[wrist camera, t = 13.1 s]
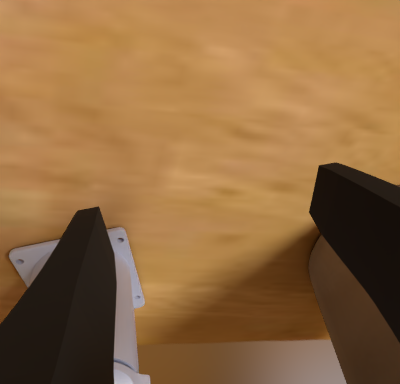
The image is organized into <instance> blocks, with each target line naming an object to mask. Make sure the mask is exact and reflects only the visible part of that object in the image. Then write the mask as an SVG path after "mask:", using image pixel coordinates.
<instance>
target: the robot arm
mask: <svg viewBox="0 0 400 384" xmlns="http://www.w3.org/2000/svg"><path fill="white" fill-rule="evenodd" d="M309 213H310V215H311V217H312V218H313V220H314V222H315V224H316V226H317V227H318V229H319V231H320V232H321V234H322V236H323V237H324V238H325V240H326V241H327V242H328V244H329V245H330V246H331V248H332V249H333V250H334V251H335V253H336V254H337V255H338V257H339V258H340V259H341V260H342V262H343V263H344V264H345V265H346V267H347V268H348V269H349V270H350V272H351V273H352V274H353V276H354V277H355V278H356V279H357V281H358V282H359V283H360V284H361V286H362V287H363V288H364V289H365V291H366V292H367V294H368V295H369V296H370V298H371V299H372V300H373V302H374V303H375V305H376V306H377V308H378V310H379V311H380V313H381V314H382V316H383V317H384V319H385V320H386V322H387V324H388V325H389V327H390V328H391V330H392V332H393V333H394V335H395V337H396V338H397V340H398V342H399V343H400V187H399V186H396V185H394V184H391V183H389V182H386V181H384V180H381V179H379V178H376V177H374V176H371V175H369V174H366V173H364V172H361V171H359V170H356V169H354V168H351V167H348V166H345V165H342V164H339V163H330V164H325V165H319V168H318V173H317V178H316V182H315V187H314V192H313V197H312V201H311V206H310V211H309ZM118 238H123V239H118ZM9 259H10V260H11V262H12V263H13V265H14V267H15V268H16V270H17V271H18V273H19V275H20V276H21V278H22V279H23V281H24V282H25V284H26V286H27V287H28V289H27V290H26V292H25V293H24V295H23V296H22V297H21V299H20V300H19V301H18V303H17V304H16V305H15V307H14V308H13V309H12V310H11V312H10V313H9V314H8V316H7V317H6V318H5V319H4V321H3V322H2V323H1V324H0V384H151V383H150V376H149V375H145V374H139V364H138V352H137V340H136V327H135V315H134V309H135V308H139V307H142V306H143V305H144V304H145V300H144V296H143V292H142V289H141V285H140V281H139V278H138V274H137V271H136V267H135V263H134V260H133V256H132V252H131V249H130V245H129V242H128V238H127V234H126V231H125V229H124V228H121V227H117V228H112V229H107V230H106V226H105V223H104V220H103V217H102V214H101V211H100V208H99V207H94V208H89V209H84V210H78V211H77V212H76V214H75V215H74V217H73V219H72V220H71V222H70V224H69V225H68V227H67V229H66V231H65V232H64V234H63V236H62V237H61V239H58V240H54V241H49V242H44V243H39V244H34V245H29V246H24V247H19V248H15V249H12V250H11V251H10V254H9ZM18 259H21V260H18Z"/></svg>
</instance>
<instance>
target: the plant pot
mask: <svg viewBox="0 0 400 384" xmlns="http://www.w3.org/2000/svg"><path fill="white" fill-rule="evenodd" d="M398 186H399V187H400V185H398ZM309 275H310V279H311V282H312V286H313V289H314V293H315V295H316V298H317V301H318V304H319V307H320V310H321V313H322V316H323V319H324V321H325V324H326V327H327V330H328V332H329V335H330V338H331V341H332V343H333V346H334V349H335V352H336V355H337V358H338V360H339V363H340V366H341V369H342V372H343V374H344V377H345V380H346V383H347V384H400V343H399V342H398V340H397V338H396V337H395V335H394V333H393V332H392V330H391V328H390V327H389V325H388V324H387V322H386V320H385V319H384V317H383V316H382V314H381V313H380V311H379V310H378V308H377V306H376V305H375V303H374V302H373V300H372V299H371V298H370V296H369V295H368V294H367V292H366V291H365V289H364V288H363V287H362V286H361V284H360V283H359V282H358V281H357V279H356V278H355V277H354V276H353V274H352V273H351V272H350V270H349V269H348V268H347V267H346V265H345V264H344V263H343V262H342V260H341V259H340V258H339V257H338V255H337V254H336V253H335V251H334V250H333V249H332V248H331V246H330V245H329V244H328V242H327V241H326V240H325V238H324V237H323V236H322V234H321V236H320V237H319V239H318V241H317V242H316V244H315V246H314V248H313V250H312V253H311V256H310V259H309Z"/></svg>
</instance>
